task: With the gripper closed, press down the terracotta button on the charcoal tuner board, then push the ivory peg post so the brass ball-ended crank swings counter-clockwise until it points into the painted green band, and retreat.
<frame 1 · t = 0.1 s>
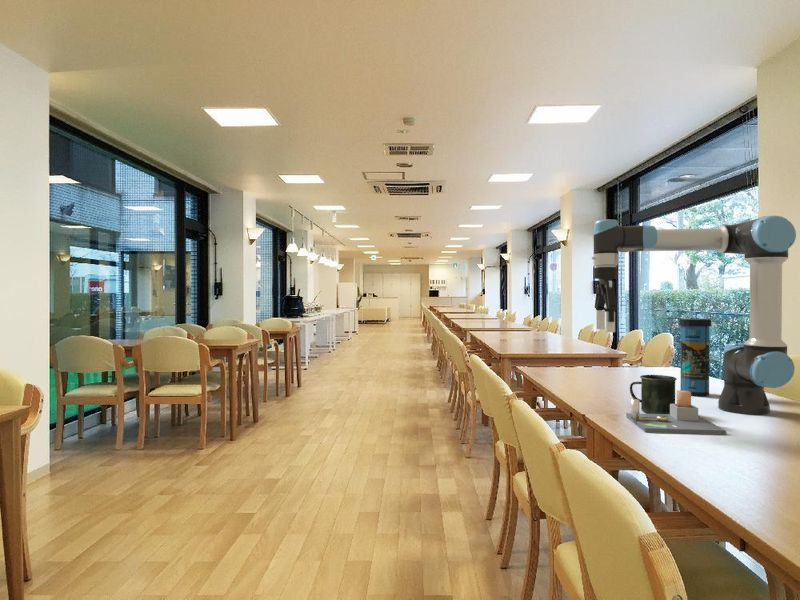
hand: (605, 330, 182), 28 cm above the table, fingers open, 13 cm apart
tuner board: (672, 425, 168), on the table
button: (683, 399, 172), point 7 cm above the table, slide at 0.0 cm
brass ball-ended crank: (649, 409, 169), point 5 cm above the table, hinge at 0.0°
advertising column: (694, 394, 219), on the table
mug: (652, 412, 187), on the table
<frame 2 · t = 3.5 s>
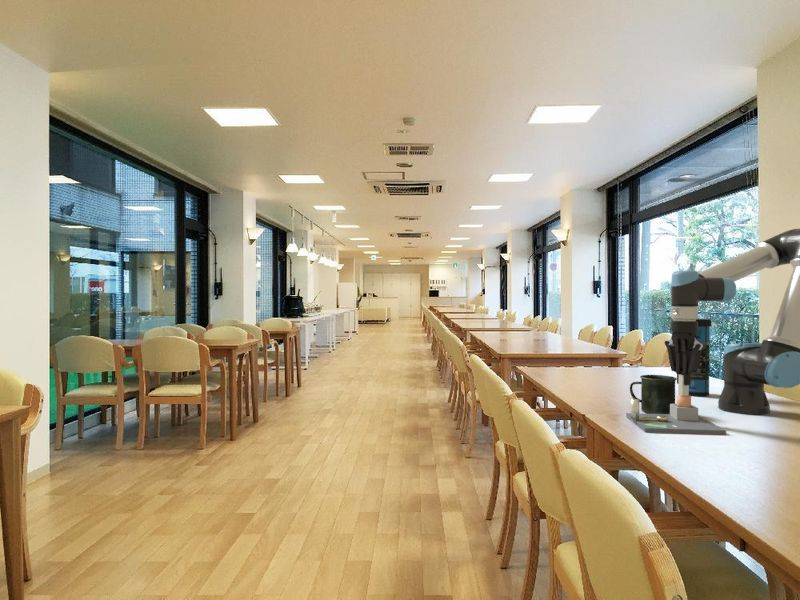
hand: (683, 395, 172), 8 cm above the table, fingers closed
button: (683, 403, 172), point 6 cm above the table, slide at 1.4 cm, touching gripper
everything else where it was.
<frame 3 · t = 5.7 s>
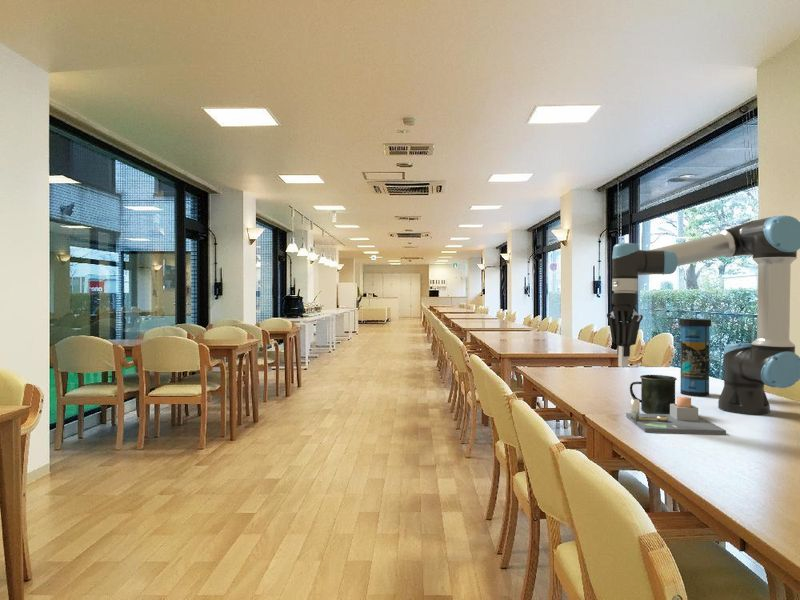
hand: (623, 366, 174), 17 cm above the table, fingers closed
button: (683, 405, 172), point 5 cm above the table, slide at 2.0 cm
everything else where it was.
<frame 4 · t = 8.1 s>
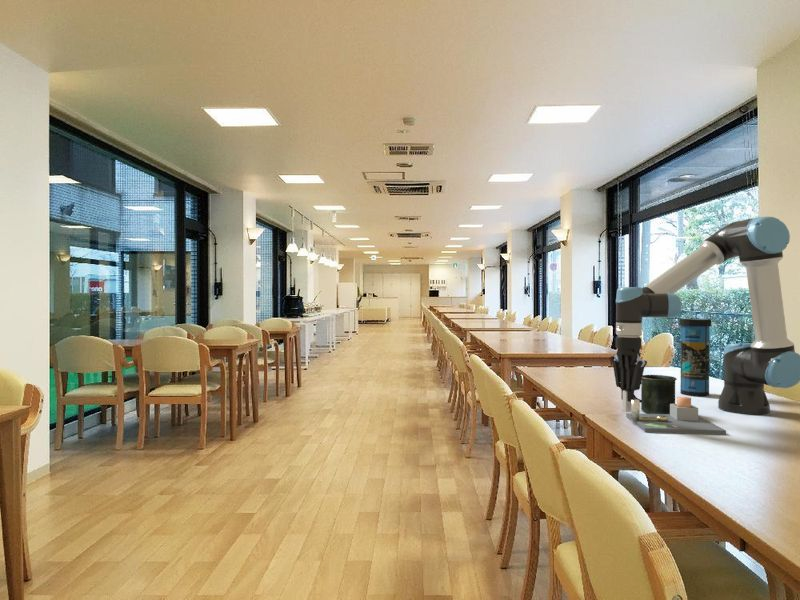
hand: (627, 411, 172), 3 cm above the table, fingers closed
brass ball-ended crank: (649, 409, 169), point 5 cm above the table, hinge at 1.3°, touching gripper
everything else where it was.
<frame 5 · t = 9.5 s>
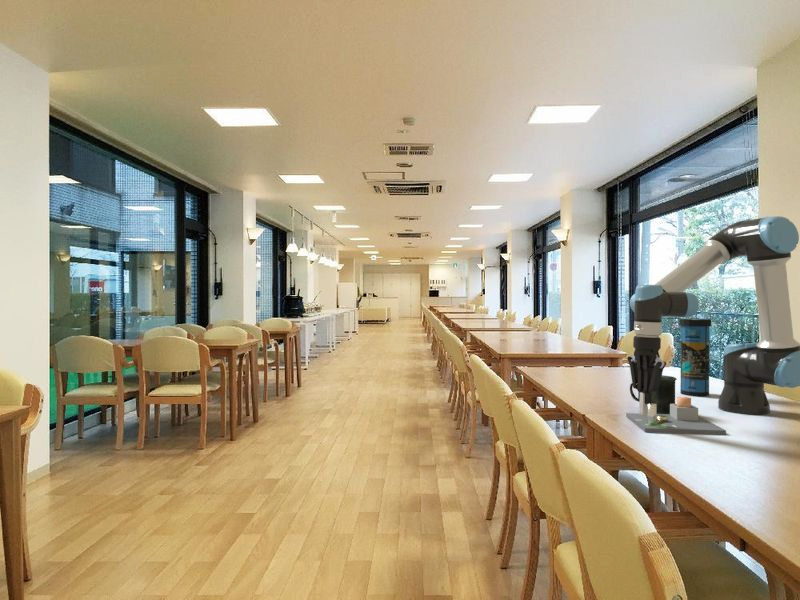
hand: (644, 413, 165), 4 cm above the table, fingers closed
brass ball-ended crank: (657, 412, 166), point 4 cm above the table, hinge at 51.7°, touching gripper
everything else where it was.
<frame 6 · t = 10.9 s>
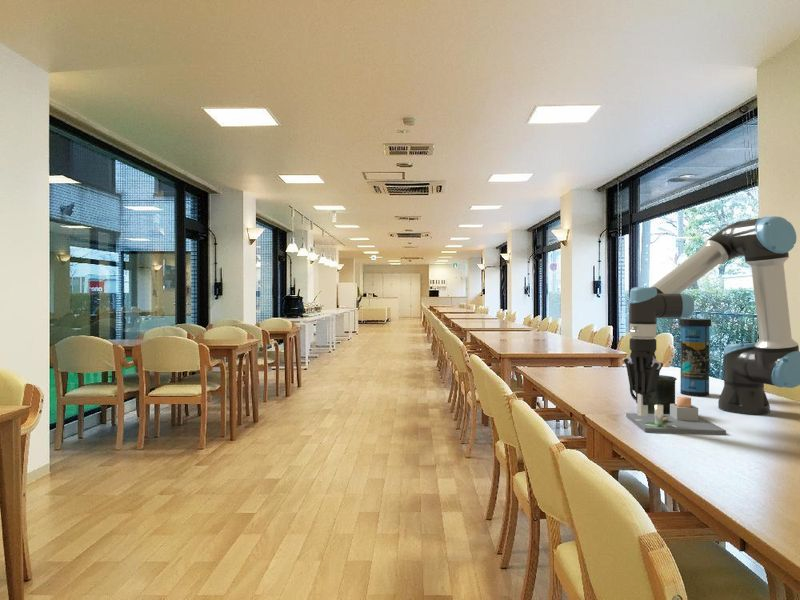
hand: (642, 415, 167), 3 cm above the table, fingers closed
brass ball-ended crank: (660, 412, 165), point 4 cm above the table, hinge at 65.3°
everything else where it was.
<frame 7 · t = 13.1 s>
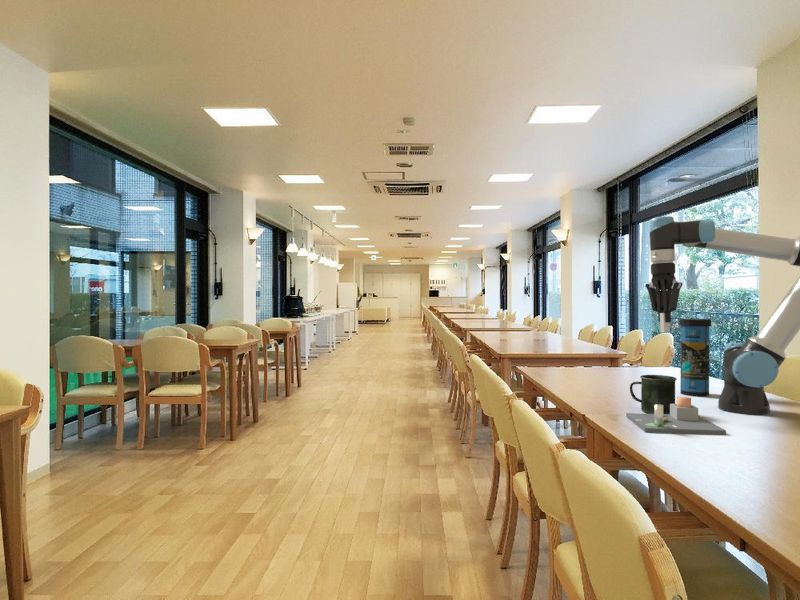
hand: (665, 332, 186), 27 cm above the table, fingers closed
nothing on the table moved.
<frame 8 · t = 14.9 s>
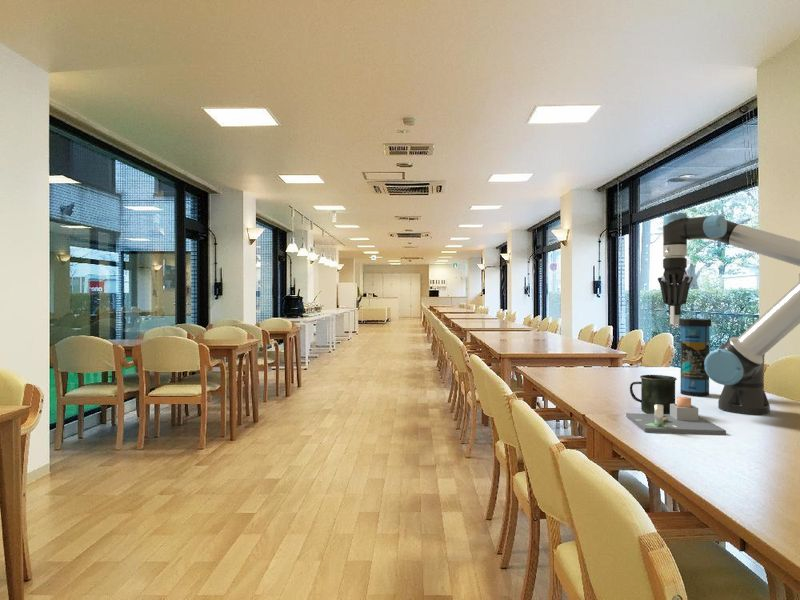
hand: (674, 324, 194), 29 cm above the table, fingers closed
nothing on the table moved.
at the end: brass ball-ended crank at +65° (first picture: +0°); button slide at 2.0 cm; brass ball-ended crank touching nothing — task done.
